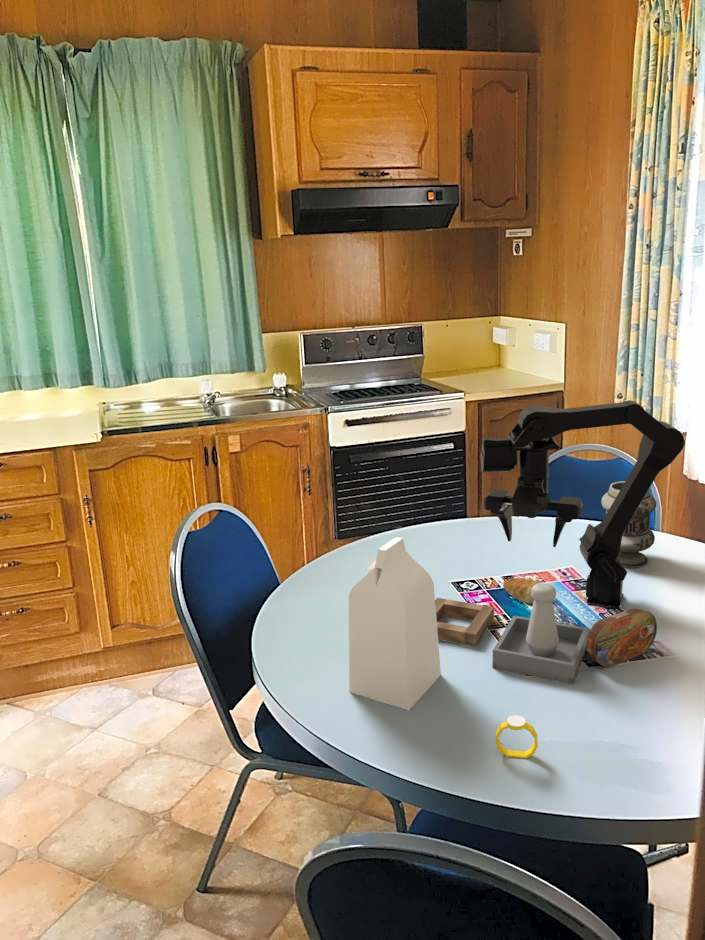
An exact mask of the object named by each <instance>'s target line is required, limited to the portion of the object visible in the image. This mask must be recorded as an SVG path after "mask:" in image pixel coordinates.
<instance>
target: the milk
mask: <svg viewBox="0 0 705 940" xmlns="http://www.w3.org/2000/svg"><path fill="white" fill-rule="evenodd" d="M406 550H407V549H406V546H405V541H404V538H403V537H397V536H396V537H394V538H392V539H390V540H389V541H388V542H387V543H385V544H384V545H382V546H381V547H379V548H378V549H377V554H376V559H375V560H374V561H373V562H372V563H371V564H370V565H368V567H366V570H367V571H368V573H367V574H365V576H363V577H362V578H361V579H360V580H359V581H358V582H357V583H355V585H353V587H352V588H351V589H350V592H349V595H348V634H349V635H348V647H349V648H348V653H349V654H348V656H349V657H348V658H349V659H348V666H349V667H348V673H349V674H348V677H349V679H348V682H349V683H348V684H349V689H348V690H349V693H351V694H355V695H358V696H362V697H365V698H368V699H372V700H374V701H378V702H381V703H384V704H388V705H391V706H394V707H397V708H401V709H403V710H407V711H410V710H411V709H412V707H414V706H415V704H416V703H417V702H418V701H419V700H420V698H422V696H424V695H425V693H426V692H427V691H428V690H429V689H430V688H431V687H432V685H433V684H434V683H436V681H437V680H438V679H439V677H441V675H442V672H441V671H442V670H441V658H440V657H441V656H440V646H439V639H438V631H437V618H436V606H435V600H436V594H435V584H434V581H433V577H431V575H430V573H428V572H427V570H425V568H424V567H423V566H421V564H419V562H418V561H416V560H415V559H414V558H413V557H412V556H411V555H410V553H408V552H407V551H406Z"/></svg>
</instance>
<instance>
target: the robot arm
mask: <svg viewBox="0 0 705 940" xmlns="http://www.w3.org/2000/svg"><path fill="white" fill-rule="evenodd" d="M621 425H631V426H632V427H634V428H635V429H636V430H637V431H638V432H639V433H641V434H642V437H641V440H640V443H639V446H638V447H639V448H638V454H637V459H636V462H635V464H634V466H633V467H632V469H631V470H630V472H629V474H628V476H627V478H626V480H624V481H625V483H624V484H623V486H622V488H621V490H620V491H619V493H618V495H617V497H616V498H615V500H614V502H613V504H612V505H611V507H610V509H609V511H608V512H607V514H605V516H604V517H603V519H602V521H600V523H598V524H597V525H595V526H594V525H593V524H590V523H589V524H587V526H586V528H585V532H584V533H583V535H582V536H581V537H580V538H579V541H580V544H579V551H580V553H581V554H580V555H581V556H582V558H583V559H584V561H585V563H586V565H587V566H588V567H589V568H590V569H591V570H590V572H589V574H588V575H587V577H586V584H585V597H586V598H587V599H586V603H587V604H589V605H594V606H595V605H596V606H602V607H607V608H614V609H620V607H621V605H622V601H623V599H624V593H623V585H624V581H625V579H626V576H627V574H628V571H627V568H625V567H623V565H622V564H621V562H620V561H619V559H618V558H617V557H618V554H619V552H620V548H621V541H622V535H623V533H624V531H625V529H626V527H627V526H628V524H629V522H630V521H631V519H632V517H633V515H634V514H635V512H636V510H637V509H638V507H639V505H640V504H641V502H642V500H643V498H644V497H645V495H646V493H647V492H648V490H649V491H650V488H651V486H652V485H653V483H654V482H655V480H656V479H657V478H656V477H657V476H658V474H659V473H660V472H661V471H662V470H664V469H666V468H667V467H668V466H669V465H671V464H672V463H673V462H674V461H675V459H676V458H677V457H678V456H679V455H680V453H681V452H682V451H683V450H684V447H685V446H686V445H685V444H686V440H685V437H684V434H683V433H682V432H681V431H680V430H679V429H677V428H676V427H674V426H672V425H671V424H670V423H668V422H666V421H660V420H658V419H656V418H655V417H654V416H652V415H651V414H650V413H649V412H648V411H646V410H645V409H644V407H643V406H642V405H640V404H639V403H638V402H636V401H634V400H630V399H629V400H628V399H627V400H625V401H623V402H621V401H620V402H613V403H606V404H604V403H603V404H596V405H585V406H578V407H577V406H576V407H569V408H568V407H567V408H564V407H562V408H560V407H553V406H544V405H528V406H526V407H524V408H523V409H522V410H521V412H519V415H518V417H517V423H516V424H515V425H514V426H513V427H512V429H511V430H510V431H509V433H508V434H507V437H500V438H499V437H496V438H493V437H483V438H482V444H481V451H480V468H481V472H482V473H501V472H502V473H505V472H508V473H509V472H512V470H515V467H517V464H518V477H517V485H516V488H515V489H514V490H515V491H514V493H513V495H512V496H511V492H510V490H503V489H492V490H491V491H490V492H489V493H488V494H487V495H486V496H485V497H484V499H483V500H484V501H483V509H484V510H485V511H490V513H491V514H492V515H495V516H496V517H497V518H498V519H499V522H500V523H501V526H502V528H503V530H504V533H505V536H506V539H507V541H508V542H511V541H512V538H513V521H512V520H513V519H512V517H513V516H514V517H516V518H517V517H518V518H519V517H524V518H526V517H527V518H529V519H534V518H536V517H537V516H538V515H539V514H538V513H542V512H548V511H554V512H555V511H556V514H557V516H556V517H555V521H554V523H555V527H554V533H553V541H552V546H553V548H556V547H557V544H558V542H559V540H560V538H561V537H560V536H561V535H562V532H563V529H564V527H565V525H566V523H571V522H572V521H573V520H578V519H579V518H580V516H581V514H582V512H583V506H584V502H583V500H582V499H581V497H575V496H574V497H573V496H565V495H564V496H562V497H561V498H560V500H559V501H558V500H550V496H549V477H550V473H549V464H550V463H549V461H550V459H549V457H550V450H551V451H552V450H555V451H557V450H559V449H561V446H560V445H559V444H558V443H557V441H555V440H554V439H553V437H556V436H559V435H561V434H562V433H565V432H568V431H572V430H573V431H574V430H582V429H583V430H585V429H593V428H601V427H612V426H621ZM518 452H519V453H518Z"/></svg>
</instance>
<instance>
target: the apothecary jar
mask: <svg viewBox="0 0 705 940" xmlns="http://www.w3.org/2000/svg"><path fill="white" fill-rule="evenodd" d="M625 481H626V480H624V481H623V480H622V481H616V482H612V483H611V484H610V485H609V488H608V491H607V492H605V494H604V495H602V497H601V507H602V508H604V510H605V513H606V514H607V512H608V511H609V509H610V507H611V505H612V504H613V502H614V500H615V498H616V497H617V495H618V493H619V491H620V490H621V488H622V486H623V484H624V483H625ZM656 507H657V502H656V499H655V497H654V496H653V495H652V494H651V492H650V489H649V490H648V492H647V493H646V495H645V497H644V498H643V500H642V502H641V504H640V505H639V507H638V509H637V510H636V512H635V514H634V515H633V517H632V519H631V521H630V522H629V524H628V526H627V527H626V529H625V531H624V533H623V535H622V541H621V548H620V552H619V554H618V557H617V558H618V559H619V561H620V562H621V564H622V565H623V567H624V568H625V569H627V568H629V569H633V568H640V567H643V566H645V565H647V564H648V562H649V559H648V557H647V556H646V555H645V554H644V553H642V552H644V551H646V550H647V549H650V548H651V547H652V546H653V545H654V543H655V540H656V538H655V537H656V536H655V534H654V532H653V530H651V528H650V517H651V513H653V512H654V511H655V509H656ZM606 514H605V515H606Z"/></svg>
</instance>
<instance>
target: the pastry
mask: <svg viewBox="0 0 705 940" xmlns="http://www.w3.org/2000/svg"><path fill="white" fill-rule="evenodd" d="M538 583H539V582H538V581H537V580H534V579H533V578H524V577H523V578H522V577H518V578H516V577H513V578H508V579H506V580H503V583H502V587H503V588H504V591H506V592H507V593H508V594H509V596H510V597H512V598H514V599H516V600H517V601H519V602H521V603H524V604H533V603H534V599H533V598H532V596H531V589H532V587H533V586H534V585H535V584H538Z"/></svg>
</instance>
